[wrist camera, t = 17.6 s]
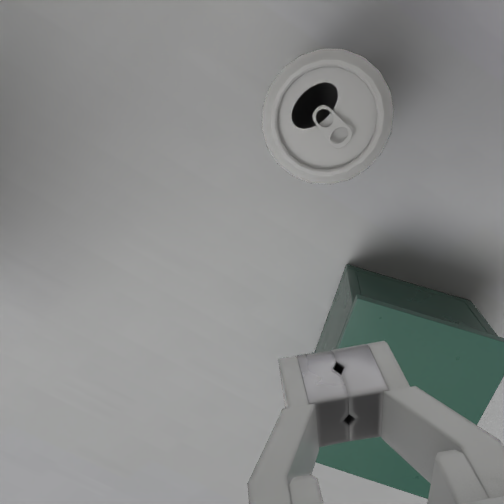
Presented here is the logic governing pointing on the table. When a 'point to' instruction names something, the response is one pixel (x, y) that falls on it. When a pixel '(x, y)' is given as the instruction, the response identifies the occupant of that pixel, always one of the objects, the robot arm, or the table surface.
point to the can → (327, 116)
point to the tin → (395, 303)
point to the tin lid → (418, 381)
